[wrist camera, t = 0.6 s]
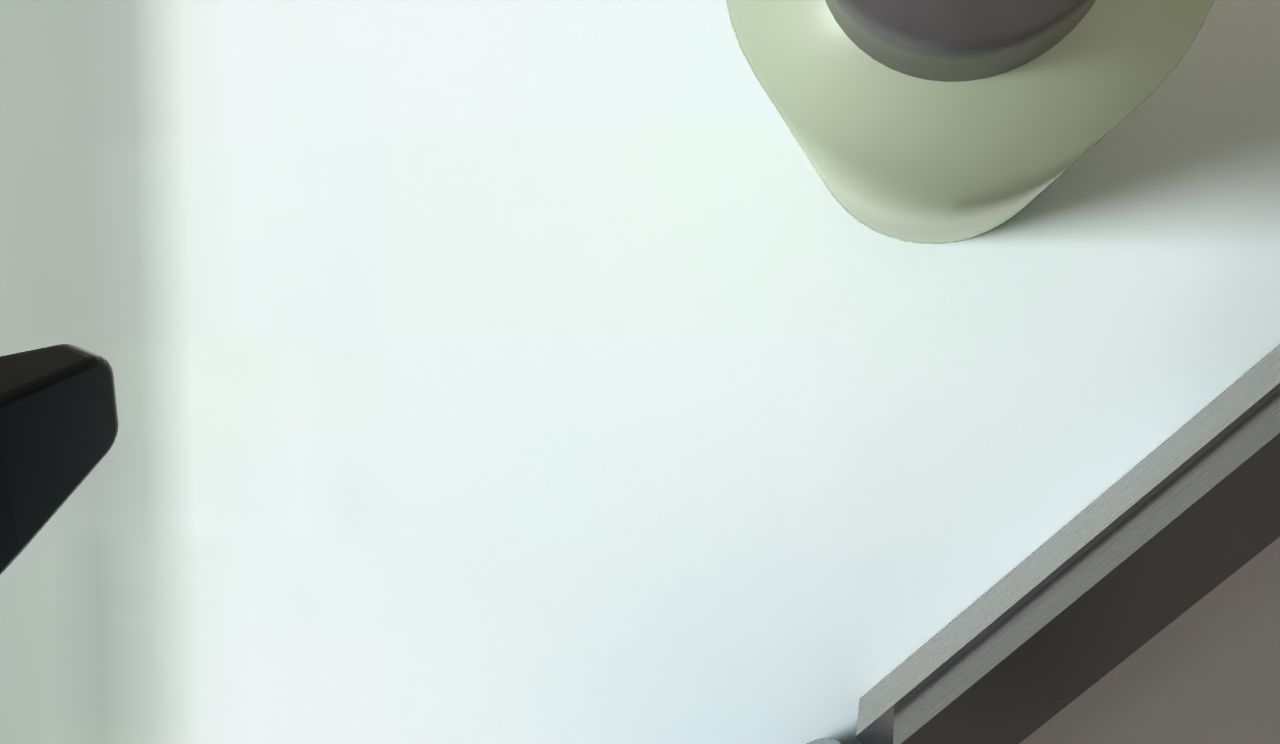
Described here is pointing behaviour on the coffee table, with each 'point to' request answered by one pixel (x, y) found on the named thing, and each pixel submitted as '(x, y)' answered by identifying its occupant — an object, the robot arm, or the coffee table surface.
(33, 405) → the robot arm
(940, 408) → the coffee table surface
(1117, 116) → the pale green bottle
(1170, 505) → the grey tray with cylinder
